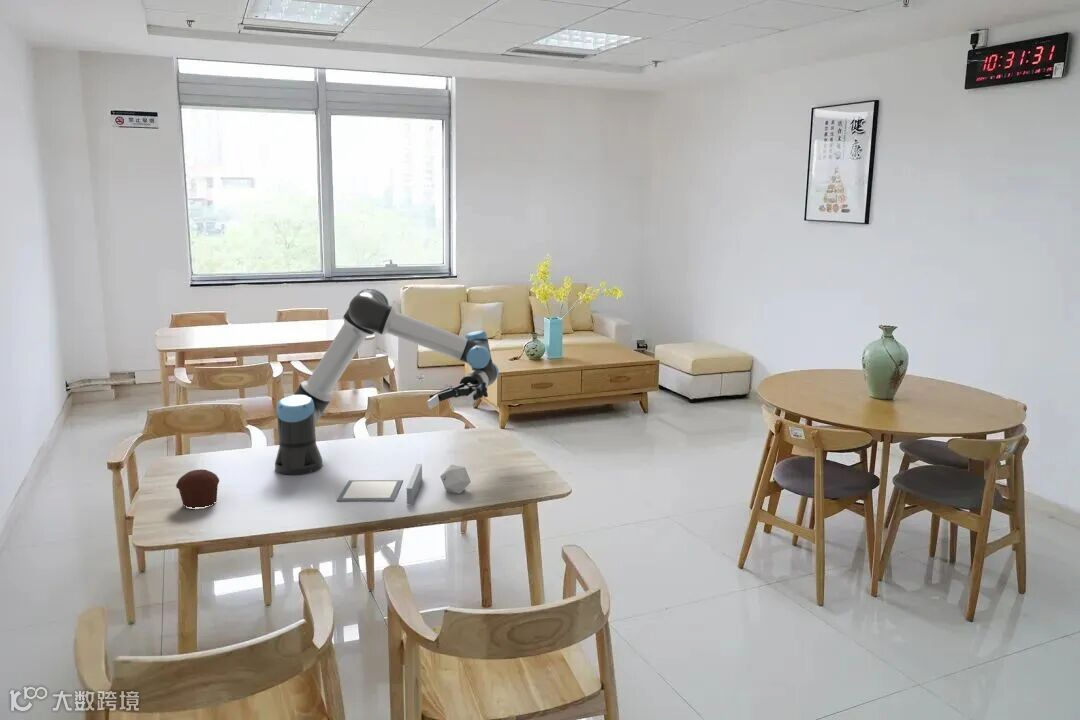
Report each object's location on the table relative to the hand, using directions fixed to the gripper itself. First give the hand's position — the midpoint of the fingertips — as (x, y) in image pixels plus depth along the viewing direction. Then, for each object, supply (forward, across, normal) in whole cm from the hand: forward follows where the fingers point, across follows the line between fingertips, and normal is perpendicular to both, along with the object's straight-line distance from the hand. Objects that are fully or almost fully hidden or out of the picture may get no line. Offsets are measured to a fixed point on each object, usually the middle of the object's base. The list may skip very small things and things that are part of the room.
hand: (448, 403), depth 249 cm
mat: (+18, +23, -20) cm, 36 cm away
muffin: (+43, +64, -11) cm, 78 cm away
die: (+10, -1, -25) cm, 27 cm away
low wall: (+14, +10, -23) cm, 29 cm away
